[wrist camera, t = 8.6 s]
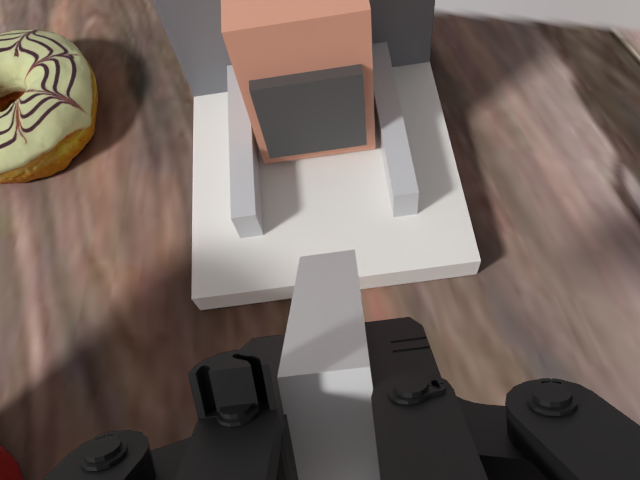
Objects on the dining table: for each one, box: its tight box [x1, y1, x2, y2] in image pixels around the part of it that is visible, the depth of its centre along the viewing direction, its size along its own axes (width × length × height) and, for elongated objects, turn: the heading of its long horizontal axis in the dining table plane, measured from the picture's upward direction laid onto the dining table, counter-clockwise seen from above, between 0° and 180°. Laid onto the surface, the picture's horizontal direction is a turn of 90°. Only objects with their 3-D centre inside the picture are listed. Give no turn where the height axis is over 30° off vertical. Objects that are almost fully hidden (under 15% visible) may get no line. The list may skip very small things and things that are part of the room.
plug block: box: [221, 0, 375, 164], centre depth 28 cm, size 6×6×9 cm
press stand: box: [152, 0, 481, 310], centre depth 28 cm, size 14×16×10 cm
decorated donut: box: [0, 30, 98, 184], centre depth 35 cm, size 10×11×4 cm
